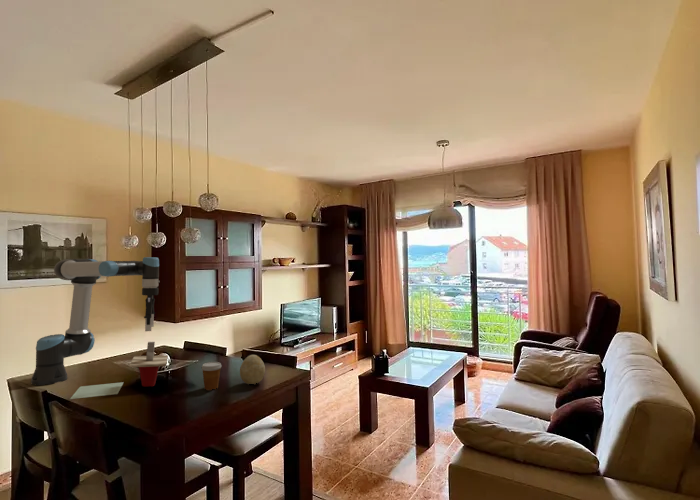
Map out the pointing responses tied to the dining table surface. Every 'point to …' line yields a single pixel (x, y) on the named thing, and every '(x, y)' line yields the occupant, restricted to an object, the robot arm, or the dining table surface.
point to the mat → (97, 390)
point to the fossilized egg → (252, 370)
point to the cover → (149, 358)
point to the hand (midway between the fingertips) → (149, 329)
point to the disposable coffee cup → (211, 374)
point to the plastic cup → (148, 375)
